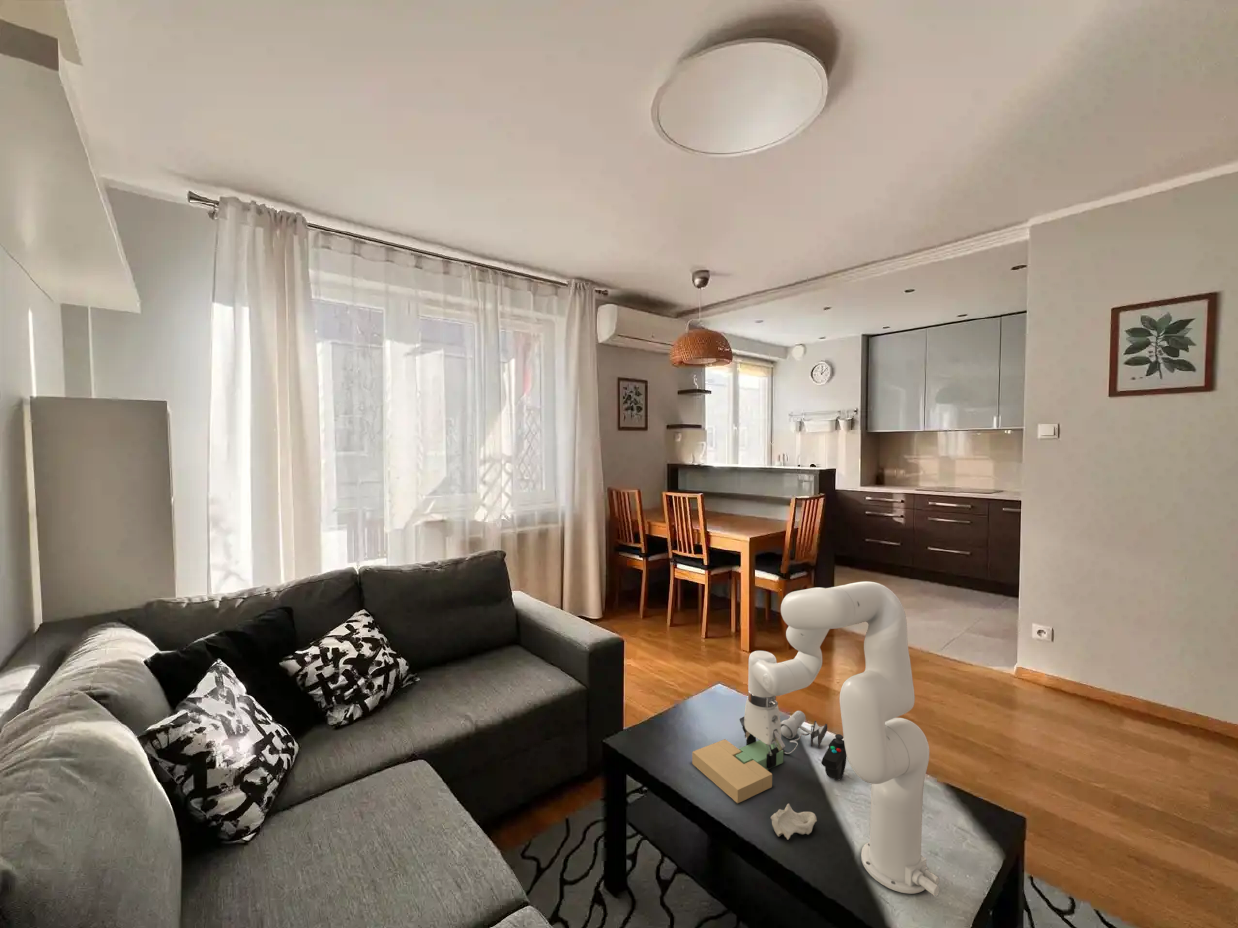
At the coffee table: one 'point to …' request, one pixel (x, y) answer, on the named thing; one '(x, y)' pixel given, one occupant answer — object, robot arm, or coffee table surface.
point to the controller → (835, 758)
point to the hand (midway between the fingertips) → (760, 758)
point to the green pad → (757, 754)
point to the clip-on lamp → (795, 722)
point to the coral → (792, 822)
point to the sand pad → (731, 771)
